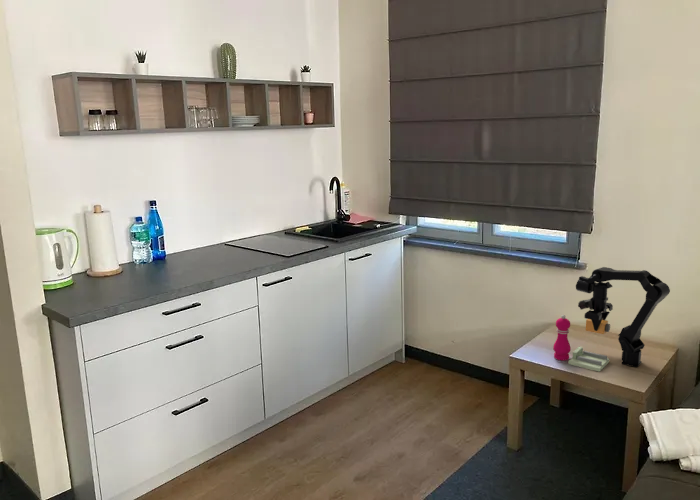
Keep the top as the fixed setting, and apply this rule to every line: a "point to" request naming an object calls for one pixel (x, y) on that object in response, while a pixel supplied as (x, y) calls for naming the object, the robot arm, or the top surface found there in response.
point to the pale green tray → (588, 359)
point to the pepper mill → (562, 339)
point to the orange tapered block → (602, 328)
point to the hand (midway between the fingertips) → (597, 329)
